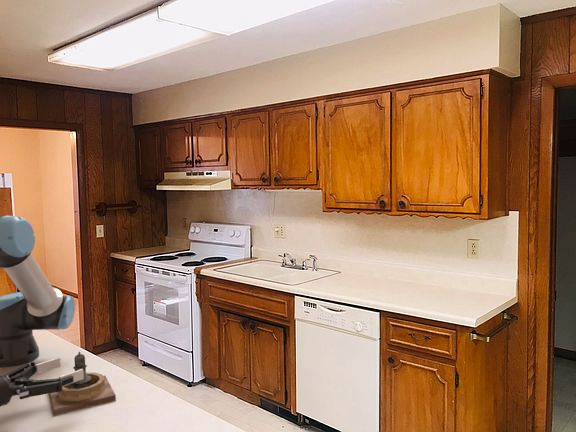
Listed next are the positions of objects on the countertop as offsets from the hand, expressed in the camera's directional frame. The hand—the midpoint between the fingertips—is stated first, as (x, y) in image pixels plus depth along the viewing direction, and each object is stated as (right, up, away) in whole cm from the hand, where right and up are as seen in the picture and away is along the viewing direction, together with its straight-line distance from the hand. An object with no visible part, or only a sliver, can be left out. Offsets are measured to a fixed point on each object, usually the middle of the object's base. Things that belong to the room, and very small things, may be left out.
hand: (70, 367), depth 138 cm
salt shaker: (+2, -8, +3) cm, 9 cm away
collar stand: (+2, -9, +3) cm, 10 cm away
